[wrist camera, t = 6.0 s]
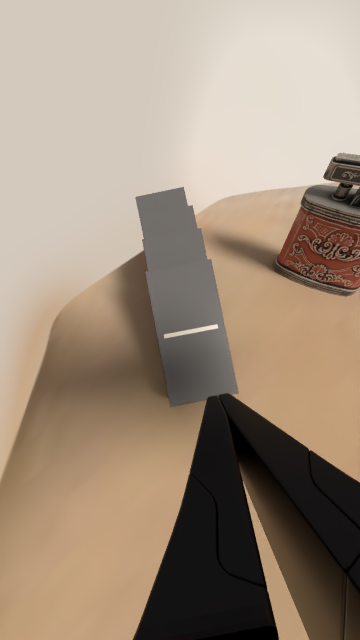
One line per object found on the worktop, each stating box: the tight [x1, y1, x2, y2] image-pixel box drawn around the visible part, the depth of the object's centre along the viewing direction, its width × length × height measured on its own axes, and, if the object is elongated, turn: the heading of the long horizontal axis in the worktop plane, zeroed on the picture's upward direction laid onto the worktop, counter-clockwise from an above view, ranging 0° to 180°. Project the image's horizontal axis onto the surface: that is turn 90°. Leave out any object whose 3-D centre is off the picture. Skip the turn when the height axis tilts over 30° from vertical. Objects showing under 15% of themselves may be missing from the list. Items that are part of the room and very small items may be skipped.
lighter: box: [273, 153, 360, 297], centre depth 16 cm, size 8×3×10 cm, turn 55°
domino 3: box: [142, 228, 207, 271], centre depth 16 cm, size 2×5×10 cm
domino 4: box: [145, 259, 238, 407], centre depth 15 cm, size 2×5×10 cm
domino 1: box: [136, 187, 188, 216], centre depth 20 cm, size 2×5×10 cm
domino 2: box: [140, 206, 197, 239], centre depth 18 cm, size 2×5×10 cm
